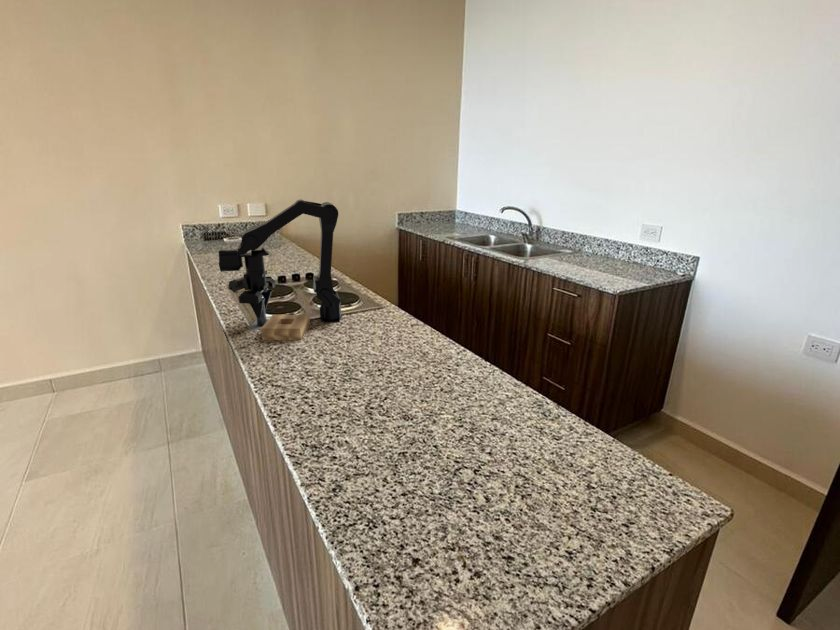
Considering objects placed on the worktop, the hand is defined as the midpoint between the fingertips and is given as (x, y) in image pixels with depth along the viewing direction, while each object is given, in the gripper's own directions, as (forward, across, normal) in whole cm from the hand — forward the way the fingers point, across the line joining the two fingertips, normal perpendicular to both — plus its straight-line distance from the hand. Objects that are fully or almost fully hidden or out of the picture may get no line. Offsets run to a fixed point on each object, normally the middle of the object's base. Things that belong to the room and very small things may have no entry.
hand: (260, 315), depth 153 cm
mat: (+4, 0, 0) cm, 4 cm away
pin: (+4, 0, 0) cm, 4 cm away
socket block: (+4, +6, +10) cm, 12 cm away
